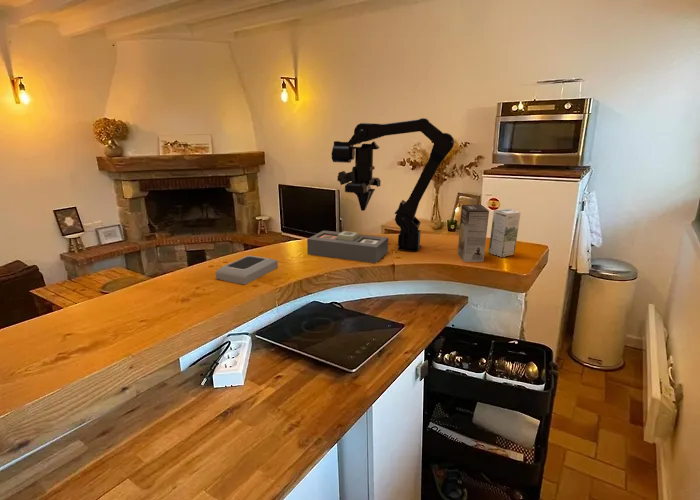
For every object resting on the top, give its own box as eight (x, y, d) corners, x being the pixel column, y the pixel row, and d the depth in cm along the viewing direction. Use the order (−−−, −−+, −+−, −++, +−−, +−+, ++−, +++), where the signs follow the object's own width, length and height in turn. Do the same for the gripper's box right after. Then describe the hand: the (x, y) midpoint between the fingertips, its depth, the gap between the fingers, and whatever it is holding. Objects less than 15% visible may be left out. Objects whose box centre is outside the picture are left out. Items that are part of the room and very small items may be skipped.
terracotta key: (338, 244, 138) (338, 235, 137) (332, 248, 134) (332, 239, 133) (324, 243, 140) (324, 234, 139) (317, 247, 135) (317, 237, 135)
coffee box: (456, 253, 136) (460, 204, 132) (476, 253, 136) (481, 204, 131) (463, 262, 127) (468, 210, 123) (484, 262, 127) (490, 210, 123)
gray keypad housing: (387, 252, 136) (388, 237, 135) (376, 263, 125) (376, 247, 124) (323, 244, 144) (323, 230, 143) (307, 254, 134) (307, 239, 132)
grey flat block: (277, 256, 120) (244, 272, 107) (277, 268, 121) (245, 286, 108) (250, 252, 124) (214, 267, 111) (250, 264, 125) (216, 280, 112)
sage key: (358, 241, 135) (358, 232, 134) (352, 245, 131) (352, 235, 130) (343, 240, 137) (343, 230, 136) (337, 243, 132) (337, 234, 132)
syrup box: (501, 251, 139) (506, 207, 134) (515, 256, 133) (521, 211, 129) (488, 253, 136) (493, 209, 132) (501, 258, 131) (507, 212, 127)
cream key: (378, 249, 133) (378, 240, 132) (373, 254, 129) (373, 244, 128) (363, 248, 135) (364, 238, 134) (358, 252, 131) (358, 242, 130)
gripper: (351, 160, 147) (350, 204, 152) (329, 164, 131) (329, 213, 135) (381, 161, 144) (380, 206, 148) (363, 166, 127) (362, 216, 131)
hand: (363, 210), depth 141 cm, fingers closed
